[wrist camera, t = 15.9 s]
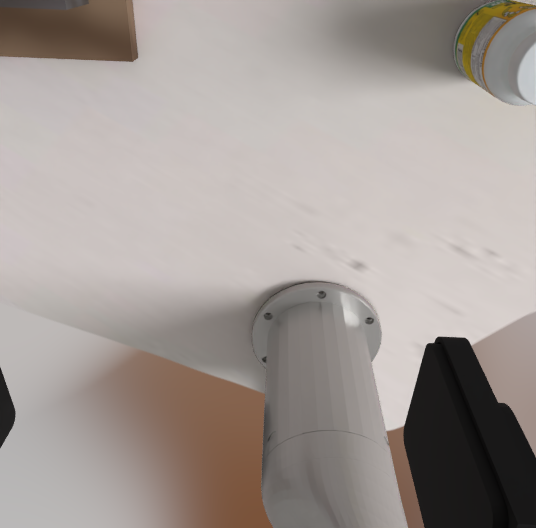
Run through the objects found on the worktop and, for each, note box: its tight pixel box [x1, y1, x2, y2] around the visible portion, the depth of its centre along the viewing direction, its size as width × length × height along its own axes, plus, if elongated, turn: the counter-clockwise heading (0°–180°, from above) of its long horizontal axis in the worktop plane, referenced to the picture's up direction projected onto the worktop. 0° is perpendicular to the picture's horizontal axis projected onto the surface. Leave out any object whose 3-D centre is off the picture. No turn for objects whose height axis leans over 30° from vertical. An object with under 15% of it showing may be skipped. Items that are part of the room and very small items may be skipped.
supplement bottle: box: [453, 0, 536, 106], centre depth 31 cm, size 5×5×10 cm
